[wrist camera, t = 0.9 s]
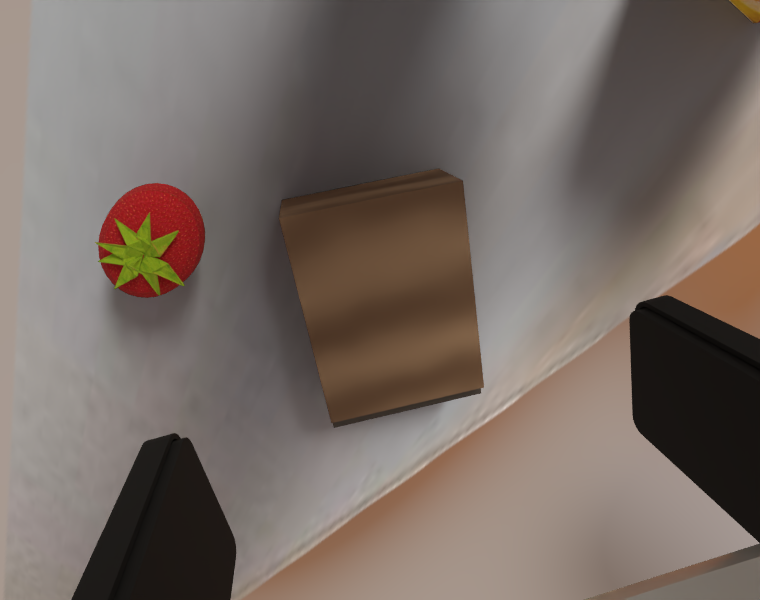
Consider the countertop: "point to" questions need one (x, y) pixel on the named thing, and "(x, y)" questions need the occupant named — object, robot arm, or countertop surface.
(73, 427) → the countertop surface
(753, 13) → the blue yellow food box
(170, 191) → the strawberry
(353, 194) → the brown wooden block
